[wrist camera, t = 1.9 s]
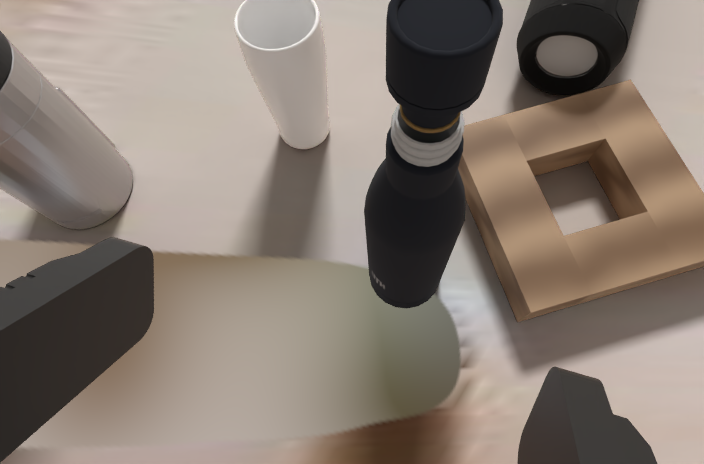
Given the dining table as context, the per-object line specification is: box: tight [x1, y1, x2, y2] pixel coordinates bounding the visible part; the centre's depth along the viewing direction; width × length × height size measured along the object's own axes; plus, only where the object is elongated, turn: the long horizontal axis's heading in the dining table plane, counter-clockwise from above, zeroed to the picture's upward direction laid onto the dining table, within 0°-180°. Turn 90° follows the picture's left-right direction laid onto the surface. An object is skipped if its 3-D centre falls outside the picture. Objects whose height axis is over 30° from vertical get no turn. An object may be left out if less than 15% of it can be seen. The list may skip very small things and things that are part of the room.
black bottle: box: [364, 0, 503, 308], centre depth 30 cm, size 6×6×30 cm
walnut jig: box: [458, 80, 704, 322], centre depth 43 cm, size 18×18×4 cm
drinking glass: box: [234, 0, 330, 149], centre depth 43 cm, size 7×7×15 cm
